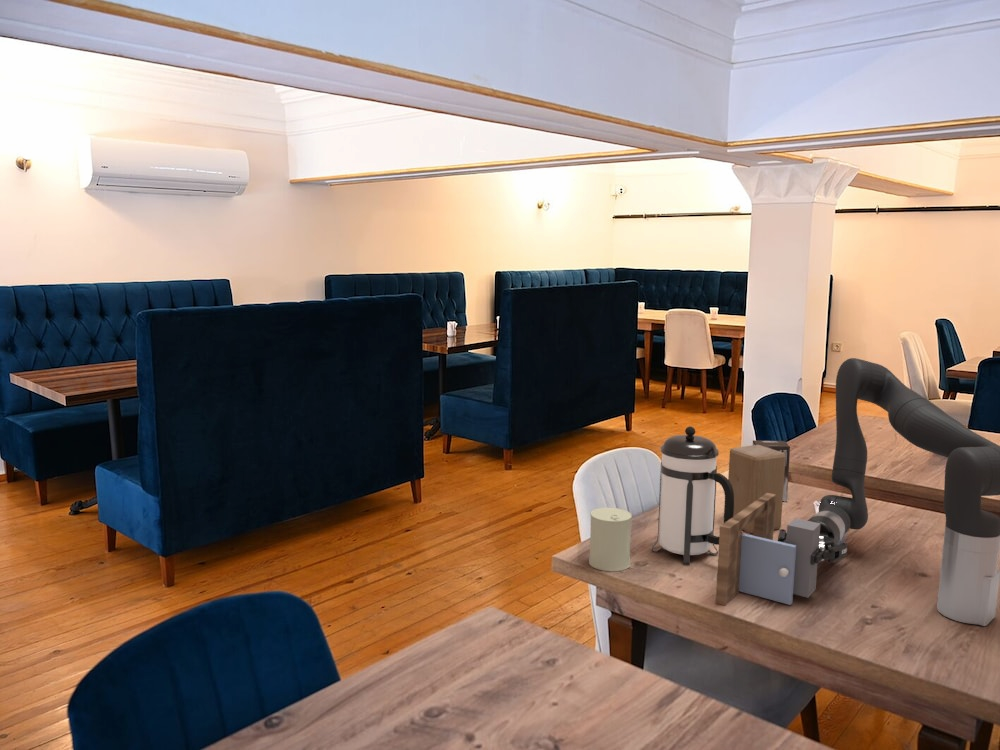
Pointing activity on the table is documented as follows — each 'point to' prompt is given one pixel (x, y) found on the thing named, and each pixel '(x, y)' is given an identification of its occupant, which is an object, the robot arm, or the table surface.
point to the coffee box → (785, 448)
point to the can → (610, 539)
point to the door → (767, 568)
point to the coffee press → (690, 495)
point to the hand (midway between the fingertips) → (798, 556)
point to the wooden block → (756, 478)
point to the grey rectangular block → (804, 554)
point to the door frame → (732, 541)
